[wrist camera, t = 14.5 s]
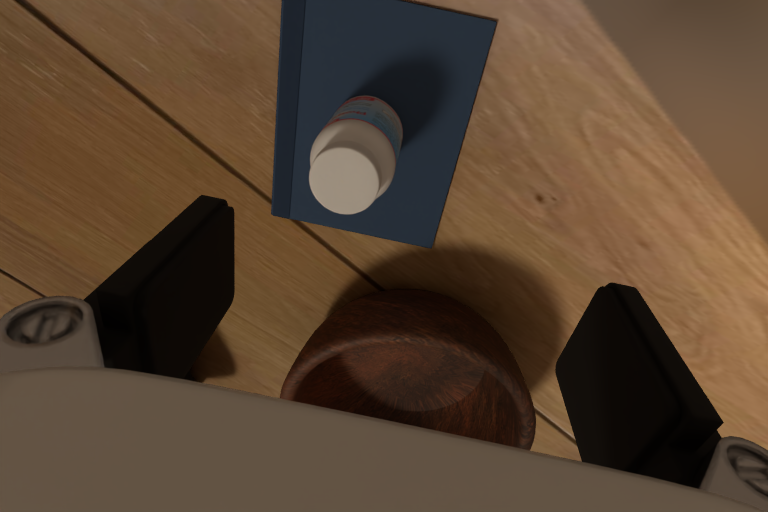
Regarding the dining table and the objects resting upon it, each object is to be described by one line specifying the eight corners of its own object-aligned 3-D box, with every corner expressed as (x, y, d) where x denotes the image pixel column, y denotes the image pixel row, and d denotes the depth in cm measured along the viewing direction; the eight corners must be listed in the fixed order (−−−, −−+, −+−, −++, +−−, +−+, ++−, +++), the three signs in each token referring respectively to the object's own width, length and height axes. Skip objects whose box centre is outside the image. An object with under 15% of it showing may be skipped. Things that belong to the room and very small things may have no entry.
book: (284, -26, 32) (282, -26, 32) (496, 21, 32) (497, 21, 32) (272, 212, 43) (270, 215, 43) (431, 246, 43) (431, 249, 43)
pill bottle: (366, 77, 35) (340, 113, 26) (418, 133, 37) (411, 185, 28) (318, 129, 38) (278, 178, 28) (368, 178, 40) (346, 240, 30)
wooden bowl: (549, 397, 53) (571, 479, 44) (368, 441, 61) (357, 518, 52) (468, 230, 42) (476, 296, 33) (262, 312, 50) (225, 381, 41)
